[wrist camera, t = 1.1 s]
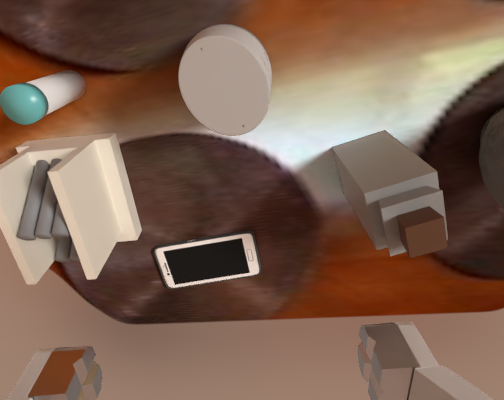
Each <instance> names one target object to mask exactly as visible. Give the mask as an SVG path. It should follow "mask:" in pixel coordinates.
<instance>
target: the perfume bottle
mask: <svg viewBox="0 0 504 400" xmlns="http://www.w3.org/2000/svg"><path fill="white" fill-rule="evenodd" d="M332 149H333V153H334V157H335V161H336V165H337V169H338V173H339V177H340V181H341V185H342V189H343V193H344V195H345V196H346V198H347V200H348V202H349V203H350V205H351V207H352V208H353V210H354V212H355V214H356V215H357V217H358V219H359V220H360V222H361V224H362V226H363V227H364V229H365V231H366V232H367V234H368V236H369V238H370V239H371V241H372V243H373V245H374V246H375V248H376V250H379V249H382V248H386V247H388V248H389V252H390V256H393V255H396V254H400V253H403V252H407V253H408V255H409V257H410V258H413V257H416V256H420V255H424V254H427V253H431V252H434V251H438V250H441V249H445V248H448V247H447V240H448V235H447V226H446V217H445V208H444V198H443V190H440V189H439V183H438V174H437V171H436V170H435V169H434V168H432V167H431V166H430V165H429V164H427V163H426V162H425V161H424V160H422V159H421V158H420V157H418V156H417V155H416V154H415V153H413V152H412V151H411V150H410V149H408V148H407V147H406V146H404V145H403V144H402V143H401V142H399V141H398V140H397V139H396V138H394V137H393V136H392V135H391V134H389V133H388V132H387V131H385V130H383V131H380V132H377V133H374V134H371V135H368V136H365V137H362V138H359V139H356V140H353V141H350V142H347V143H343V144H340V145H337V146H334V147H332Z"/></svg>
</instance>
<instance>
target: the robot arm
mask: <svg viewBox="0 0 504 400" xmlns="http://www.w3.org/2000/svg"><path fill="white" fill-rule="evenodd" d="M359 336H360V338H361V341H362V342H361V343H360V344H359V345H358V362H359V367H360V370H361V373H362V376H363V378H364V379H365V380H366V381H367V382H369V388H368V393H369V396H370V399H371V400H494V399H492V398H491V397H489V396H488V395H486V394H485V393H483V392H482V391H480V390H479V389H477V388H476V387H475V386H473V385H472V384H470V383H469V382H467V381H466V380H464V379H463V378H461V377H460V376H458V375H457V374H456V373H454V372H453V371H451V370H450V369H448V368H447V367H445V366H439V365H438V363H437V362H436V360H435V359H434V357H433V355H432V353H431V352H430V350H429V348H428V347H427V345H426V343H425V342H424V340H423V338H422V337H421V335H420V333H419V332H418V330H417V329H416V327H415V325H414V323H412V322H411V321H408V322H395V323H382V324H372V325H361V327H360V332H359ZM95 355H96V354H95V352H94V349H93V347H90V346H83V347H64V348H63V347H62V348H47V349H40V350H38V351H37V352H36V353H35V354H34V355H33V357H32V359H31V360H30V362H29V364H28V365H27V367H26V369H25V370H24V372H23V374H22V375H21V377H20V379H19V380H18V382H17V383H16V385H15V387H14V388H13V390H12V392H11V394H10V395H9V397H8V398H7V399H3V400H96V399H97V398H98V396H99V393H100V390H101V383H102V371H101V368H100V365H99V364H97V363H96V362H95V361H93V360H94V357H95Z"/></svg>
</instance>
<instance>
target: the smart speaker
mask: <svg viewBox="0 0 504 400" xmlns="http://www.w3.org/2000/svg"><path fill="white" fill-rule="evenodd" d="M178 79H179V87H180V91H181V94H182V97H183V100H184V102H185V104H186V106H187V107H188V109H189V110H190V112H191V113H192V115H193V116H194V117H195V118H196V119H197V120H198V121H199V122H200V123H201V124H203V125H204V126H205V127H207V128H208V129H210V130H212V131H214V132H216V133H219V134H223V135H228V136H236V135H242V134H245V133H248V132H250V131H252V130H253V129H255V128H256V127H257V126H258V125H259V124H260V123H261V122H262V120H263V119H264V117H265V115H266V113H267V110H268V106H269V101H270V93H271V83H272V70H271V64H270V60H269V57H268V54H267V52H266V50H265V48H264V46H263V45H262V43H261V42H260V41H259V40H258V38H257V37H256V36H254V35H253V34H252V33H251V32H249V31H248V30H246V29H244V28H242V27H240V26H237V25H233V24H217V25H213V26H210V27H208V28H205V29H204V30H202V31H201V32H199V33H198V34H197V35H196V36H194V38H193V39H192V40H191V41H190V42H189V44H188V45H187V47H186V49H185V51H184V54H183V56H182V59H181V62H180V66H179V73H178Z"/></svg>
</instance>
